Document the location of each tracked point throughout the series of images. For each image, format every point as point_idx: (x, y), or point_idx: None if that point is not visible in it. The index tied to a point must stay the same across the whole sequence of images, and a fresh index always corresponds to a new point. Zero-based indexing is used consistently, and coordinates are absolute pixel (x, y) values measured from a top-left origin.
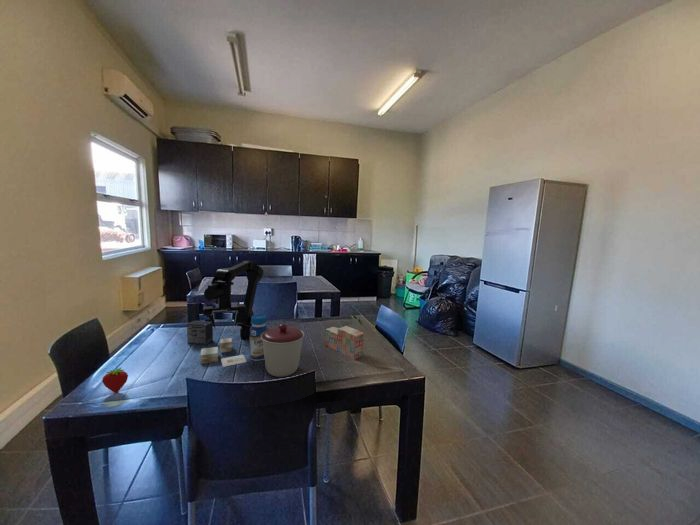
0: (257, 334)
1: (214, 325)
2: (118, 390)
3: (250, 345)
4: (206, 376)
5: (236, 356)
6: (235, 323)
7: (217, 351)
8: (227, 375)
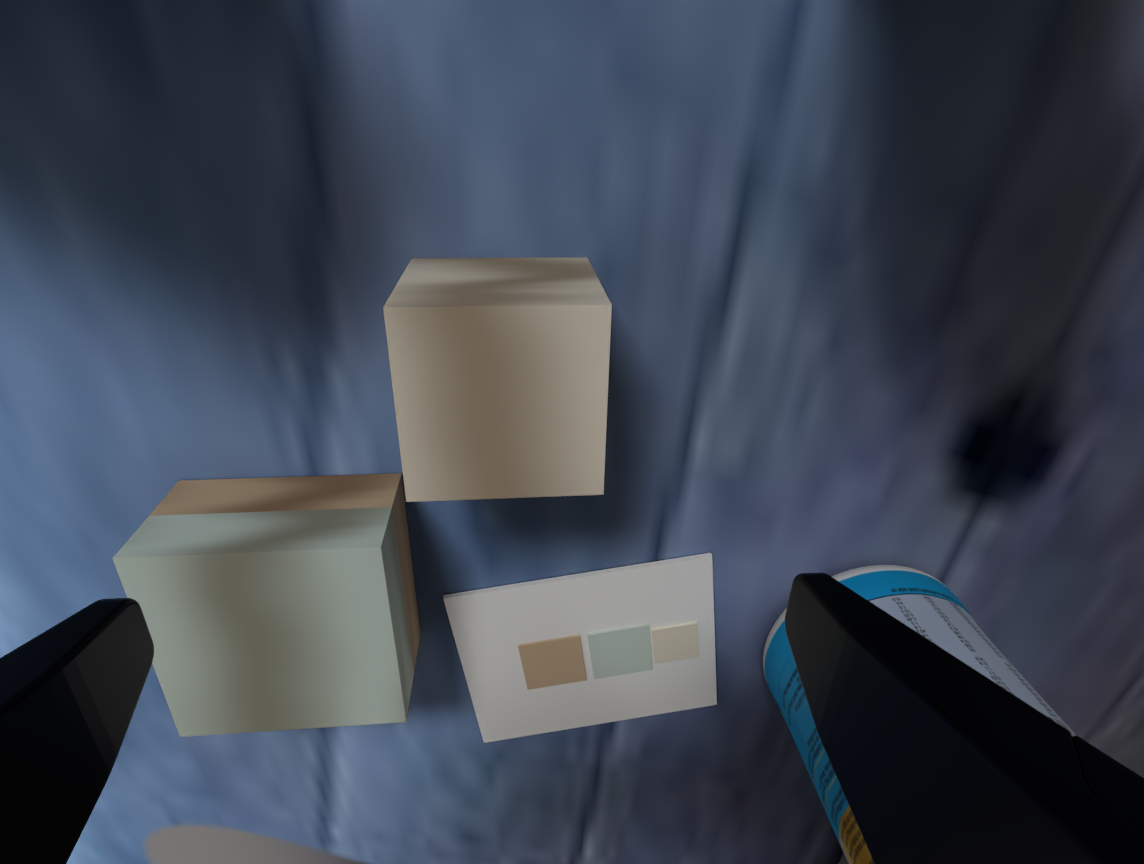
0: None
1: (89, 764)
2: None
3: (834, 832)
4: (352, 835)
5: (629, 584)
6: (831, 730)
7: (394, 685)
8: (524, 846)
